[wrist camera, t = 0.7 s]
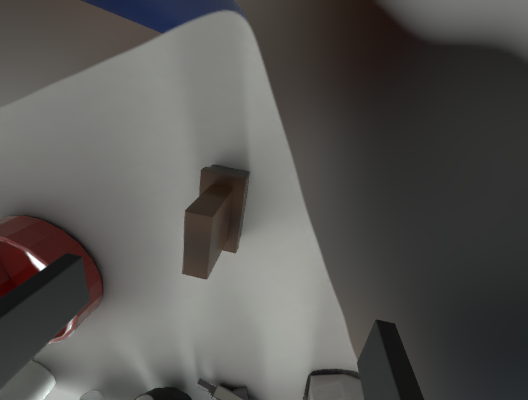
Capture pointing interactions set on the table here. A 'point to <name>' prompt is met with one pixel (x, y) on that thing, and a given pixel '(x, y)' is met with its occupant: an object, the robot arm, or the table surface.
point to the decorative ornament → (333, 385)
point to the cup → (29, 383)
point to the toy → (164, 394)
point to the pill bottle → (92, 396)
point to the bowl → (42, 260)
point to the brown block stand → (214, 219)
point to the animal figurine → (223, 392)
